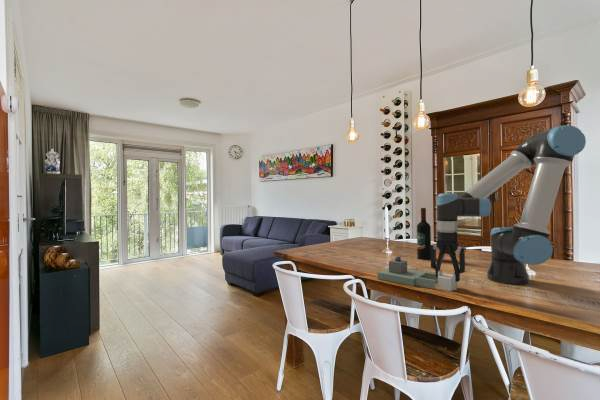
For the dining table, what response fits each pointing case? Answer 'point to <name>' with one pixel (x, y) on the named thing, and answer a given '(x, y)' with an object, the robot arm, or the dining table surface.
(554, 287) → the dining table surface
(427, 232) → the wine bottle
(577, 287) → the dining table surface
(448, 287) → the pale grey block
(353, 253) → the dining table surface
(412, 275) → the stepped grey base
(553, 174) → the robot arm
